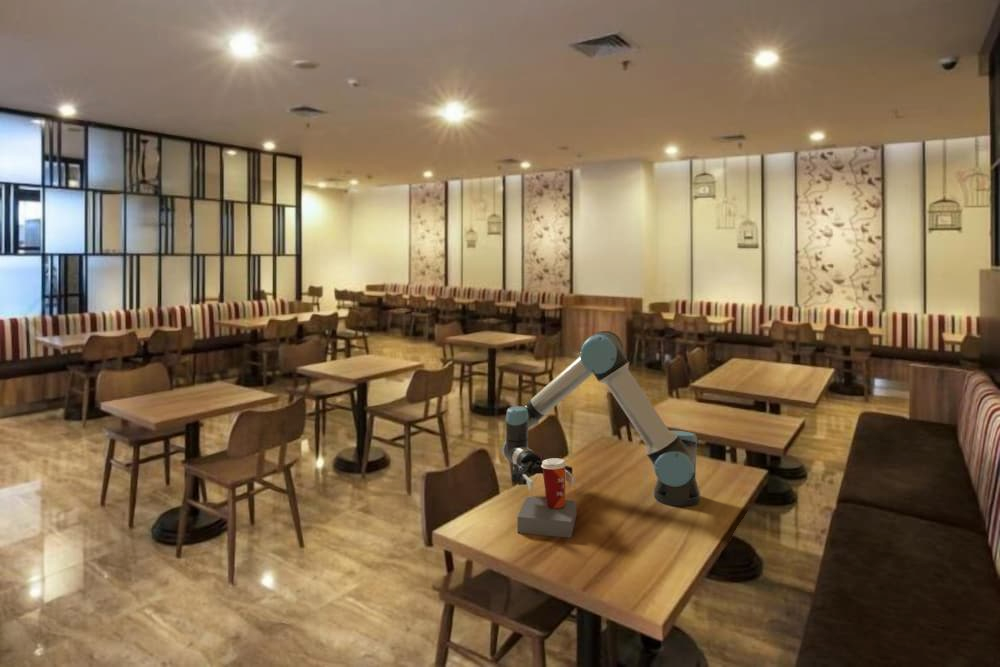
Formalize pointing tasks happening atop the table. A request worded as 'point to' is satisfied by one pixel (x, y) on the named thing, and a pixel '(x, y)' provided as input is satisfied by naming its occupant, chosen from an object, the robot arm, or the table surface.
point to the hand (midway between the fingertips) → (552, 483)
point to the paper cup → (554, 482)
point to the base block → (547, 518)
